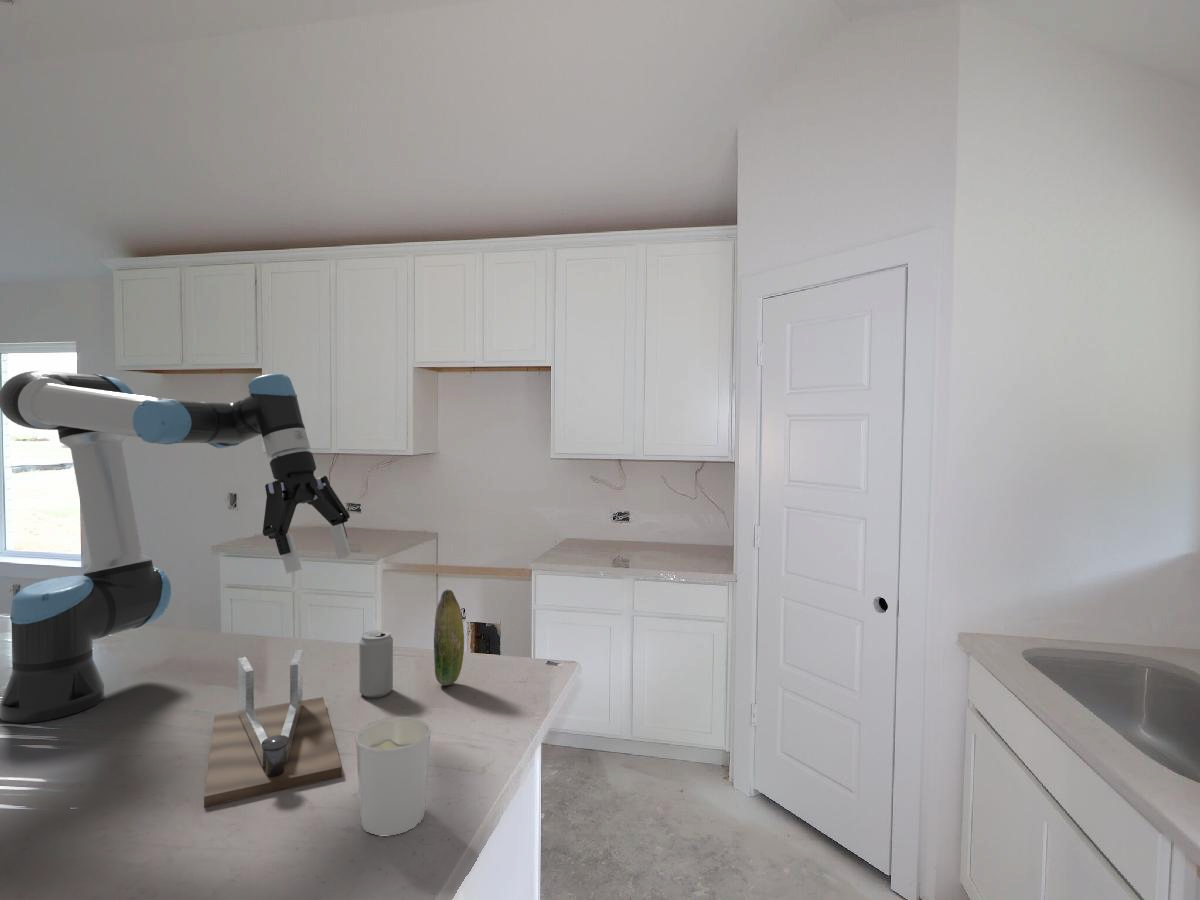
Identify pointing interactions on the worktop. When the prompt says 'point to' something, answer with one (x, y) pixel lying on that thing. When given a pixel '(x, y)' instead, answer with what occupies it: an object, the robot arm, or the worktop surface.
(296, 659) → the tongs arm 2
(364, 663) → the beverage can
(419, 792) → the candle holder
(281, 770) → the tongs hinge post
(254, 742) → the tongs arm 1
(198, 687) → the worktop surface
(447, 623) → the vegetable
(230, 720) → the walnut board
